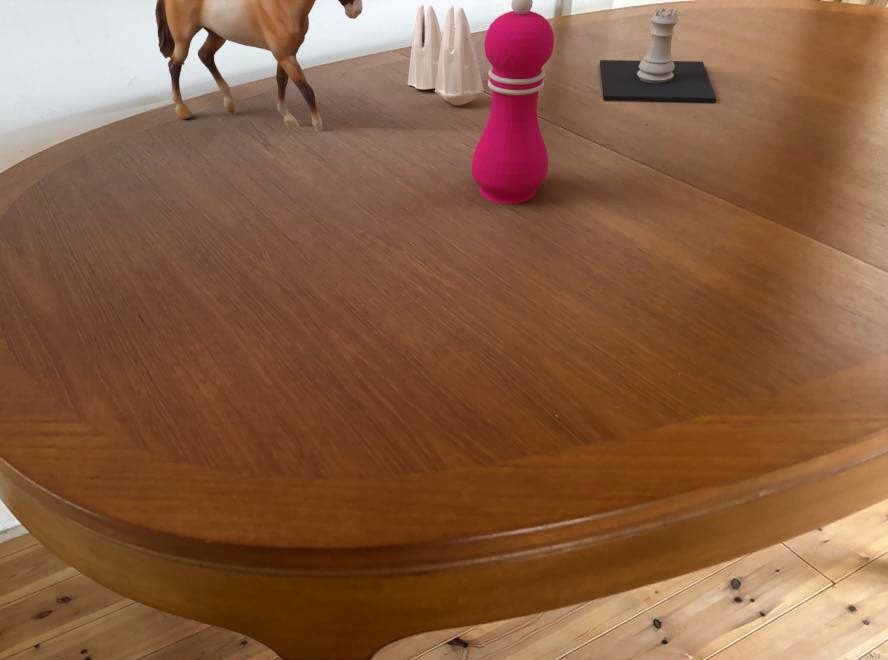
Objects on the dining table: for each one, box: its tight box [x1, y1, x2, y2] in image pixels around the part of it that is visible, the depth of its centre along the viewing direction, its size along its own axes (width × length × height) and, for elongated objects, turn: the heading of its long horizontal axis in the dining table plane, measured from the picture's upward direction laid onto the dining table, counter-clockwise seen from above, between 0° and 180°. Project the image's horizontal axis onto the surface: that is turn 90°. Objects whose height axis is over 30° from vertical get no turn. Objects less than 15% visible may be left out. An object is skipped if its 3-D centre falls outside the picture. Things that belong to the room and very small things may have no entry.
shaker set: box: [407, 3, 485, 106], centre depth 108 cm, size 12×4×11 cm, turn 28°
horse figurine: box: [154, 0, 363, 132], centre depth 101 cm, size 31×8×21 cm, turn 56°
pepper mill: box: [470, 0, 555, 205], centre depth 81 cm, size 7×7×20 cm
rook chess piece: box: [637, 7, 680, 83], centre depth 109 cm, size 4×4×8 cm
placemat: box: [599, 59, 717, 104], centre depth 112 cm, size 13×13×1 cm
